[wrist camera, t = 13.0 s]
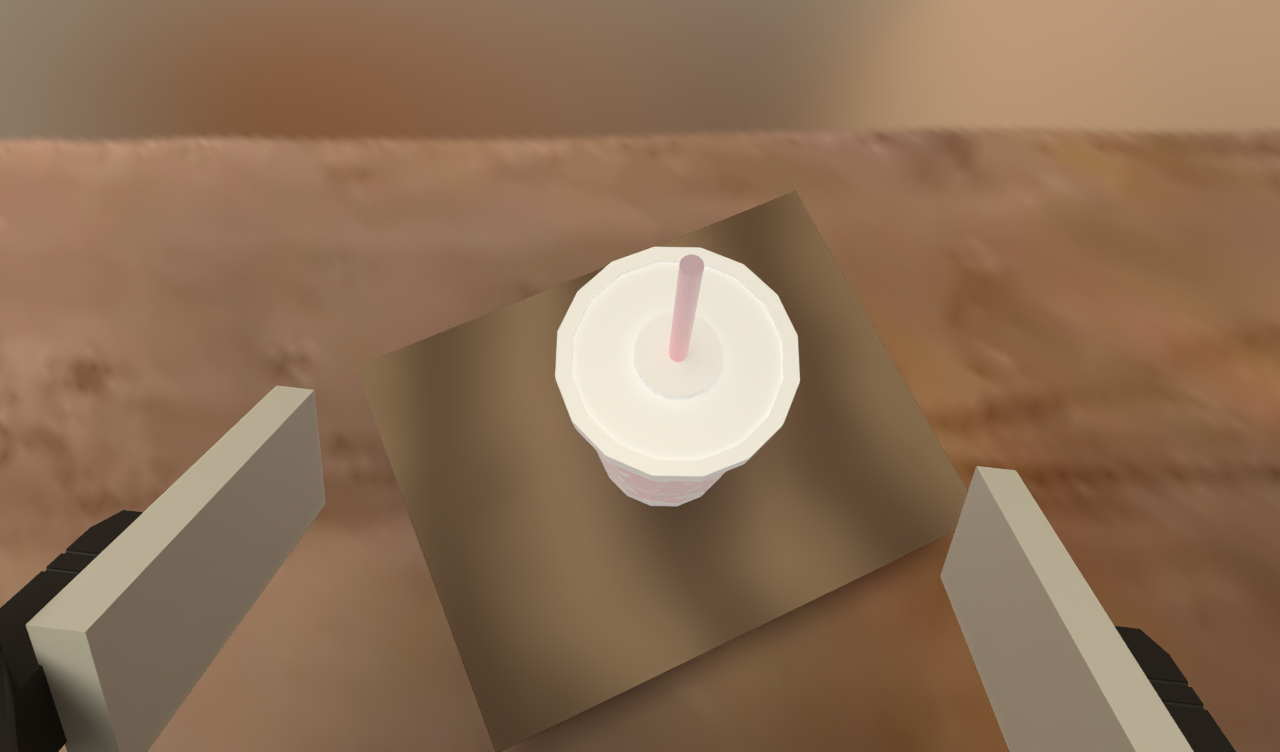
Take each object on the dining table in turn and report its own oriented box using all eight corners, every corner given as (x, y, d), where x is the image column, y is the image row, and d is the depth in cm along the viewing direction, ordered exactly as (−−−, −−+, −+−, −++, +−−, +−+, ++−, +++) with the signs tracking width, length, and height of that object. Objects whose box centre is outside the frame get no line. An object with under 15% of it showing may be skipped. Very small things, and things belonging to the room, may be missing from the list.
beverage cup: (545, 417, 29) (469, 221, 15) (687, 330, 30) (731, 78, 17) (638, 565, 27) (643, 488, 14) (785, 467, 28) (920, 311, 15)
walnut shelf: (772, 248, 36) (795, 191, 32) (930, 534, 33) (983, 517, 28) (392, 404, 34) (355, 367, 29) (516, 734, 30) (496, 753, 25)
